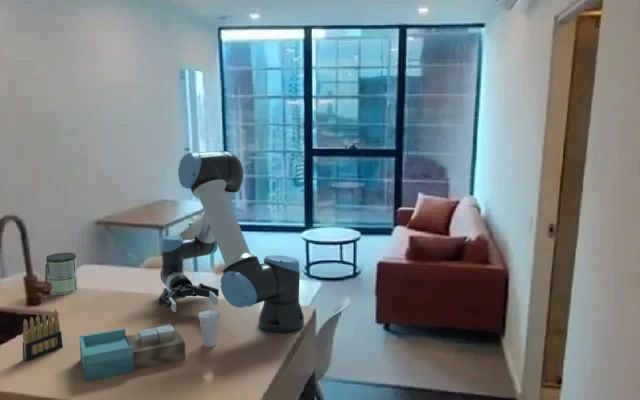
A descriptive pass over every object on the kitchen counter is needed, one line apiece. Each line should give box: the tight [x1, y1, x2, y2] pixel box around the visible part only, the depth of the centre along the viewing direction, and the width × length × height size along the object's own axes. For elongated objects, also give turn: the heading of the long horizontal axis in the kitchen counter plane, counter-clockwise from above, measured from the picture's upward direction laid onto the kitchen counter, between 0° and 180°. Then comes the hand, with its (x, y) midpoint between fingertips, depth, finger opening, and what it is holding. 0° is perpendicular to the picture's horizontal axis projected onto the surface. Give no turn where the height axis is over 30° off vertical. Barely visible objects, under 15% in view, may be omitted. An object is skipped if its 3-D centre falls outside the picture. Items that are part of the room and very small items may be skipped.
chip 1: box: [138, 327, 158, 345], centre depth 143 cm, size 4×4×2 cm
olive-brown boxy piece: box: [126, 326, 186, 371], centre depth 145 cm, size 14×12×5 cm
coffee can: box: [45, 252, 79, 296], centre depth 196 cm, size 10×10×14 cm
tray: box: [78, 328, 135, 383], centre depth 138 cm, size 12×14×7 cm
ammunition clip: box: [22, 308, 64, 362], centre depth 144 cm, size 11×2×12 cm, turn 149°
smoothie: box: [197, 299, 221, 348], centre depth 152 cm, size 6×6×14 cm
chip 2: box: [155, 324, 176, 341], centre depth 146 cm, size 4×4×2 cm
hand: (196, 304), depth 164 cm, fingers open, 13 cm apart
